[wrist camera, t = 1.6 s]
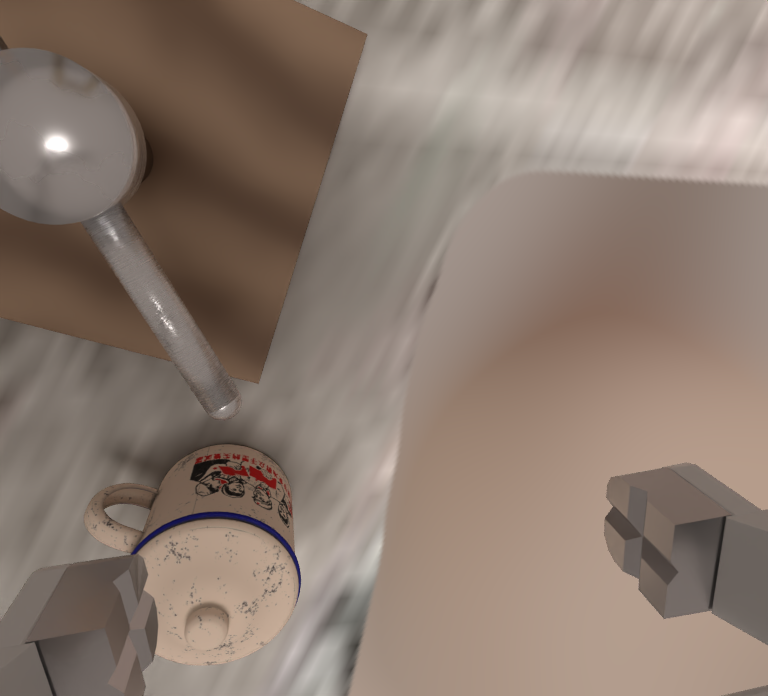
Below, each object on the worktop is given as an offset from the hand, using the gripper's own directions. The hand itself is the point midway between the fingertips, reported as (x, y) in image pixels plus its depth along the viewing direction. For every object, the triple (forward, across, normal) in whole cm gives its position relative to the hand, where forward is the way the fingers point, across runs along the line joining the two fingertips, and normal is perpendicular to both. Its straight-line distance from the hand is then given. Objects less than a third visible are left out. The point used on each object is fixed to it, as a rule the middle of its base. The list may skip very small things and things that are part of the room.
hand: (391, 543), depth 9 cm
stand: (+25, +9, -8) cm, 28 cm away
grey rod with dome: (+16, +8, -6) cm, 19 cm away
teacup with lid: (+25, +9, +13) cm, 30 cm away
